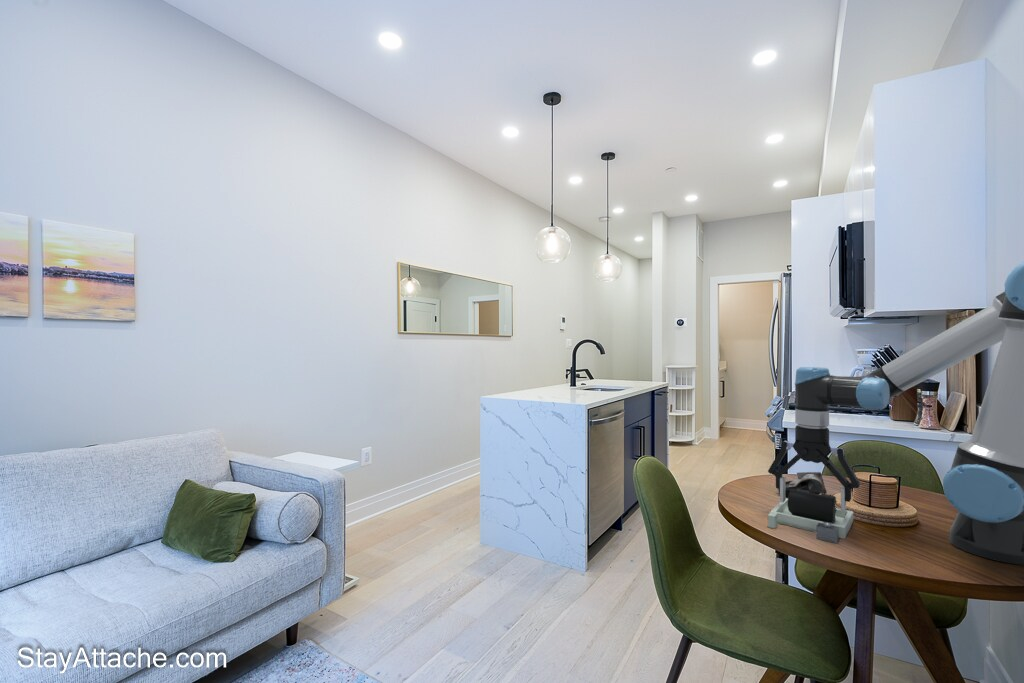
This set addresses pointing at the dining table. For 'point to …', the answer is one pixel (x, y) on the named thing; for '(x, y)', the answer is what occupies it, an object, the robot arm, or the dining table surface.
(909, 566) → the dining table surface
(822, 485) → the caster wheel
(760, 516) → the dining table surface
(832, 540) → the block
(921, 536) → the dining table surface
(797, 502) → the end cap
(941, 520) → the dining table surface
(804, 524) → the pale green tray
